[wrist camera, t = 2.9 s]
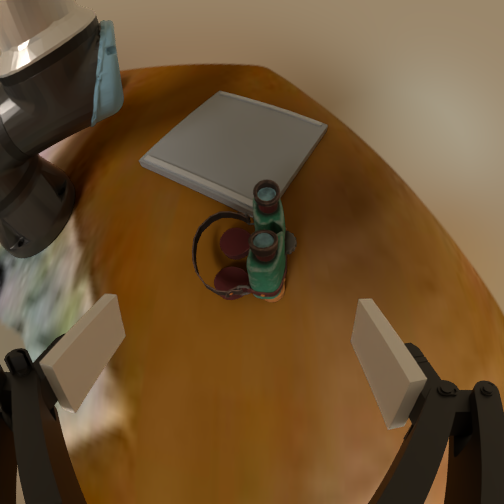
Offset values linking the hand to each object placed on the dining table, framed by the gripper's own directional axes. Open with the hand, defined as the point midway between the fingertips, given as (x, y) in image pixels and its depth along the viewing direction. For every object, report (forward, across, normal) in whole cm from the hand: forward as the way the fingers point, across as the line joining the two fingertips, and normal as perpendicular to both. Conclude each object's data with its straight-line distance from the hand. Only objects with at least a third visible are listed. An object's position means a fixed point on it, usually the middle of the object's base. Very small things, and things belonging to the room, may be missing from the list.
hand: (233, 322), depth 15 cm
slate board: (+29, -2, +11) cm, 31 cm away
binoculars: (+16, 0, -3) cm, 16 cm away
